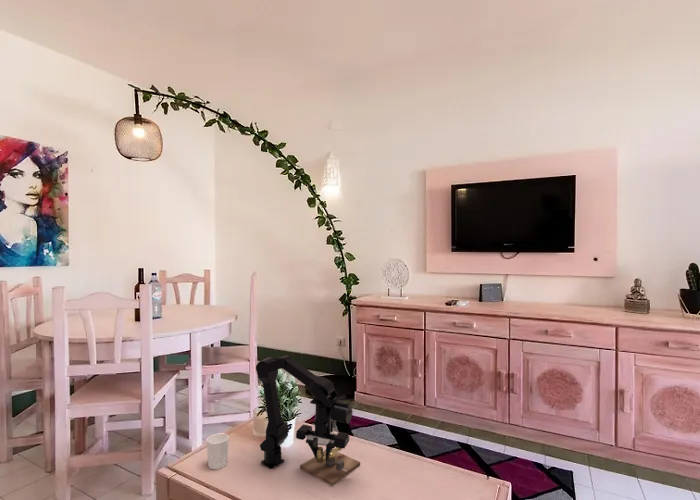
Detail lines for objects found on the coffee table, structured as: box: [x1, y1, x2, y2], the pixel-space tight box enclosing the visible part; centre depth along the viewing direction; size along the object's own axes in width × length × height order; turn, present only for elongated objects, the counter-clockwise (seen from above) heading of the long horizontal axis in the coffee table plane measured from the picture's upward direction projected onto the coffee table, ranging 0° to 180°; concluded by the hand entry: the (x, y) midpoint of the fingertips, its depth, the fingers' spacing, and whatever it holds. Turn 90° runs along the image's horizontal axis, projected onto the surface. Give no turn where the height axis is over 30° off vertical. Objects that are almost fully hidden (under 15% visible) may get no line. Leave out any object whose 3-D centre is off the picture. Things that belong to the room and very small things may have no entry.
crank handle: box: [316, 446, 343, 464], centre depth 141 cm, size 4×14×6 cm, turn 146°
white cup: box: [206, 432, 230, 470], centre depth 143 cm, size 8×8×10 cm
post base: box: [299, 450, 361, 487], centre depth 141 cm, size 16×16×4 cm
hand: (321, 459), depth 136 cm, fingers open, 4 cm apart
